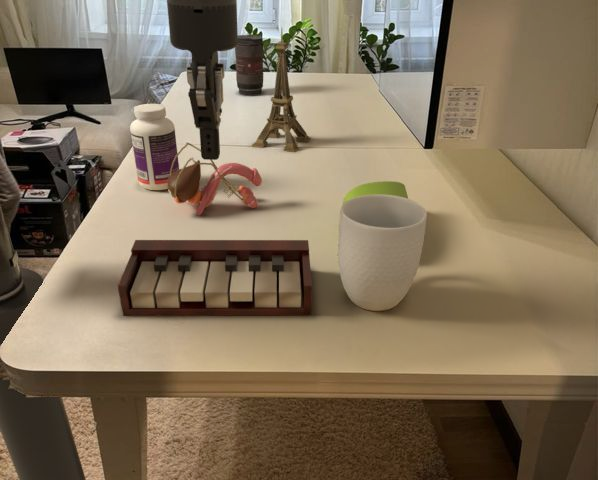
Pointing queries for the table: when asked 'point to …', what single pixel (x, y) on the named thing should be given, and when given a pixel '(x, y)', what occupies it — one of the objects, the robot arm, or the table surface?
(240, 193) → the anatomy model
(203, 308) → the piano
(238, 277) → the key
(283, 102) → the eiffel tower
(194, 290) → the key
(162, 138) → the pill bottle
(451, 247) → the table surface
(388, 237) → the mug
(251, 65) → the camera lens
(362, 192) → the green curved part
